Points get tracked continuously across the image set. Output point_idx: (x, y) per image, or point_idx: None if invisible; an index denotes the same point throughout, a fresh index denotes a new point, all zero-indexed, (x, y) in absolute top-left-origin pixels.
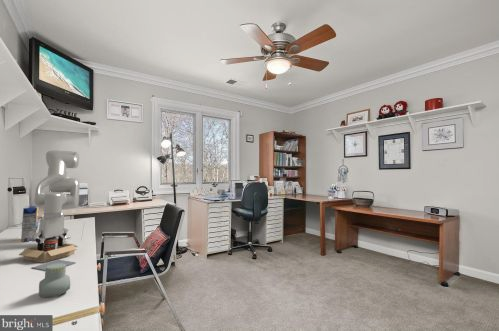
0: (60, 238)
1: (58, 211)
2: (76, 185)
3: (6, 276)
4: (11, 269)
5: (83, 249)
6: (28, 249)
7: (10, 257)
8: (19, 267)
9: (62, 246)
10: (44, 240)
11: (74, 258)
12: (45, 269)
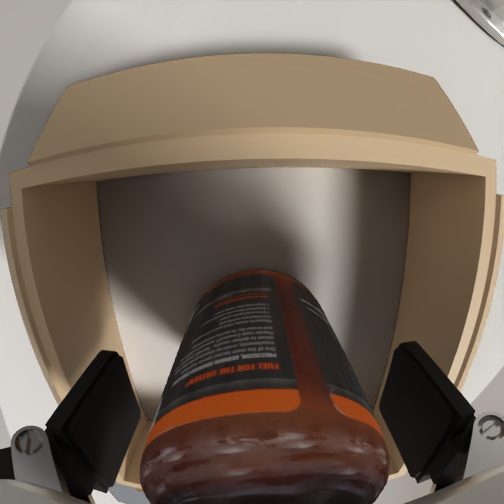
0: (432, 469)
1: None
2: None
3: (5, 411)
4: (5, 357)
5: (485, 351)
6: (23, 252)
7: (90, 10)
8: (28, 368)
9: (435, 332)
10: (146, 474)
11: None
12: (109, 488)
